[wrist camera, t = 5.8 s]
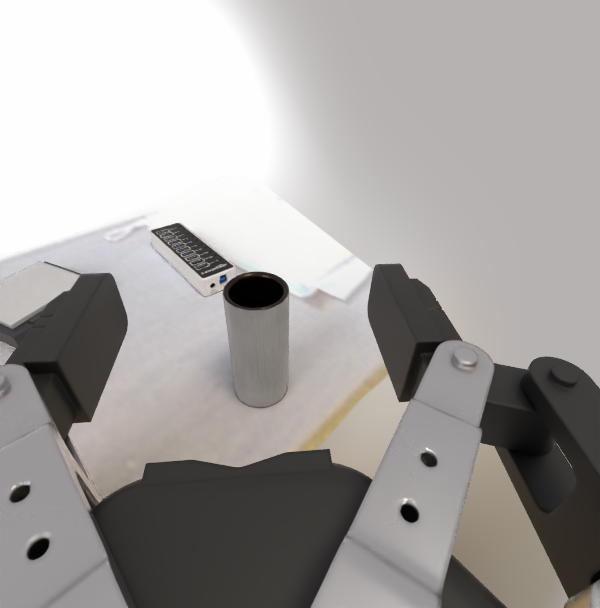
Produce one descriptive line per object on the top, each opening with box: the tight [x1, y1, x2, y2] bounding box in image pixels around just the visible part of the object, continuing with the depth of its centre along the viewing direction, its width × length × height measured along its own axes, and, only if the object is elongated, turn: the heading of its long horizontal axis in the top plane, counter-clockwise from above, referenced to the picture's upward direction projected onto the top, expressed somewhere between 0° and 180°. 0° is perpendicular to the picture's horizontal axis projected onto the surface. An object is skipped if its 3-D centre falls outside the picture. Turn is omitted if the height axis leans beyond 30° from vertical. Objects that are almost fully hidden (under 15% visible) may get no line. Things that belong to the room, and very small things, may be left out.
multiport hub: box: [150, 223, 236, 296], centre depth 46 cm, size 4×14×2 cm, turn 40°
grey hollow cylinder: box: [223, 272, 289, 407], centre depth 29 cm, size 4×4×10 cm
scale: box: [0, 261, 81, 348], centre depth 39 cm, size 10×9×2 cm
